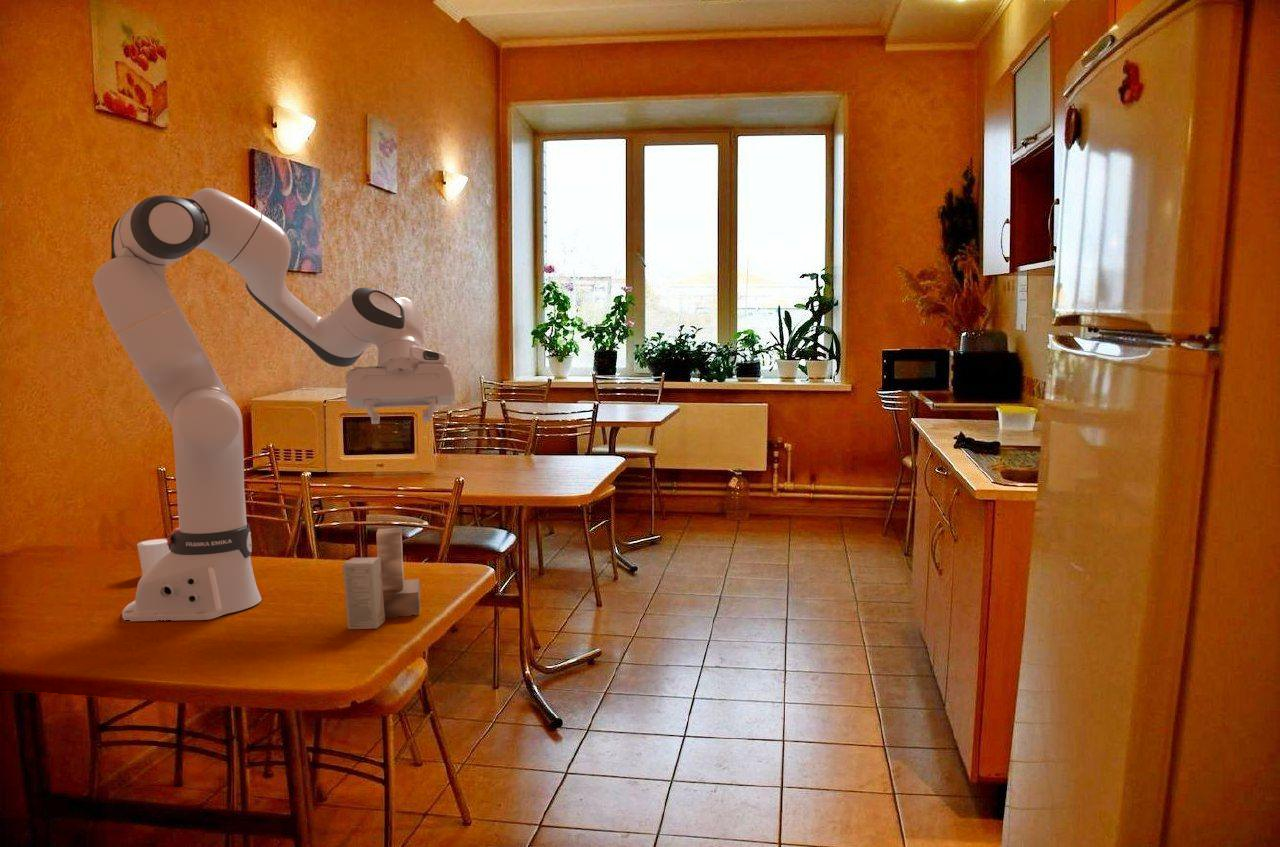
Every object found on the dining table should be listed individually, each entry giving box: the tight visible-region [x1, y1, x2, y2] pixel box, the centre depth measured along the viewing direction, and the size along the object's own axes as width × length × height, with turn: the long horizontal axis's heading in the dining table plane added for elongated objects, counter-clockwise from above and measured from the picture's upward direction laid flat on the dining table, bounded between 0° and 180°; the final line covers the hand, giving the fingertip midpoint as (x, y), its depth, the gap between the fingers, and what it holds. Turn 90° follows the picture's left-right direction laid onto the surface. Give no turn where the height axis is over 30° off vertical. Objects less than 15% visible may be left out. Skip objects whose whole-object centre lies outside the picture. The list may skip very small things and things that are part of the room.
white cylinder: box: [136, 537, 170, 576], centre depth 201 cm, size 7×7×7 cm
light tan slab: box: [383, 578, 422, 618], centre depth 174 cm, size 9×9×4 cm
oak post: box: [375, 527, 405, 591], centre depth 173 cm, size 4×4×10 cm
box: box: [342, 556, 386, 630], centre depth 165 cm, size 5×4×11 cm
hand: (401, 420), depth 187 cm, fingers open, 8 cm apart
